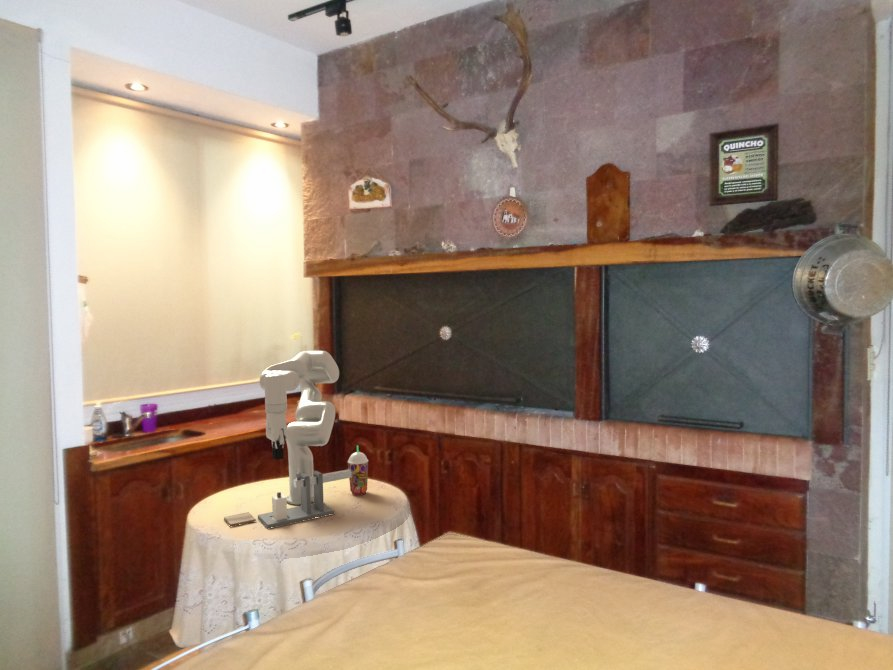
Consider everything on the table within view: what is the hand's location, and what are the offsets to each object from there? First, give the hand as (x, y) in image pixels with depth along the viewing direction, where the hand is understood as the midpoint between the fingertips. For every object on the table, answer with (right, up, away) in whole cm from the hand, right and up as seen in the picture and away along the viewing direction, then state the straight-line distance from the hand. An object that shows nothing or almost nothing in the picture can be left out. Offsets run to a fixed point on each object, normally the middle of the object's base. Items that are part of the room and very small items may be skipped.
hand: (278, 458), depth 233 cm
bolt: (+14, -11, +10) cm, 21 cm away
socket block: (+5, -23, +6) cm, 24 cm away
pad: (-15, -23, +3) cm, 28 cm away
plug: (0, -23, +2) cm, 23 cm away
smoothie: (+25, -21, +32) cm, 45 cm away
